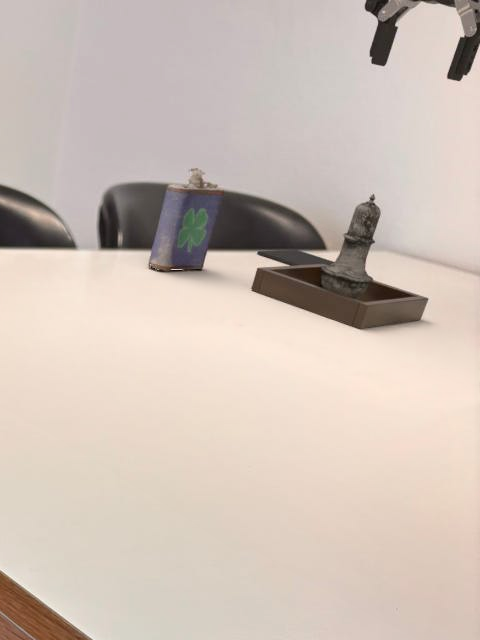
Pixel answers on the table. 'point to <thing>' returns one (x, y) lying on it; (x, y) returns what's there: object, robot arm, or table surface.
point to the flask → (186, 224)
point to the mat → (294, 257)
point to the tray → (339, 297)
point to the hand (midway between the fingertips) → (414, 72)
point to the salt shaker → (353, 253)
